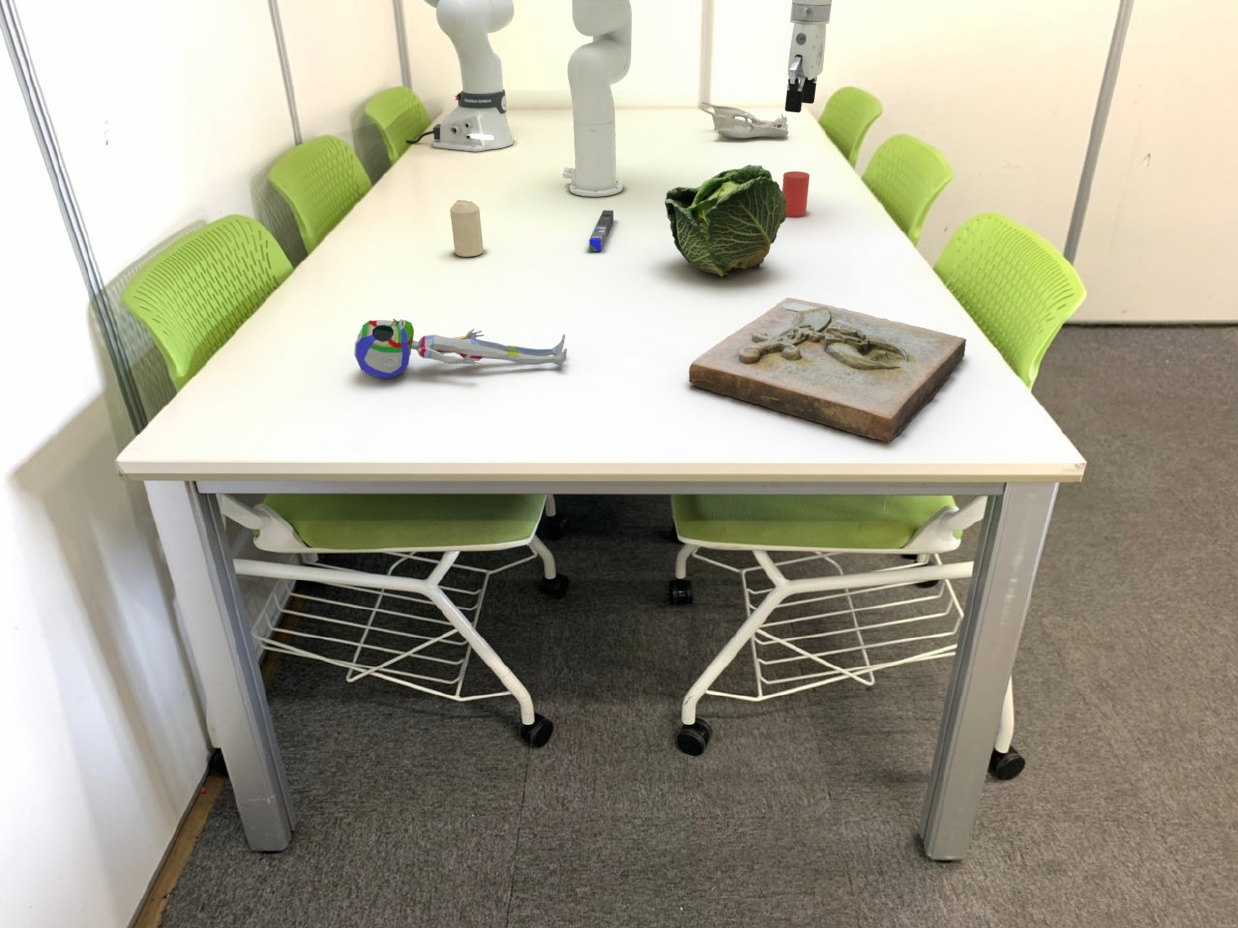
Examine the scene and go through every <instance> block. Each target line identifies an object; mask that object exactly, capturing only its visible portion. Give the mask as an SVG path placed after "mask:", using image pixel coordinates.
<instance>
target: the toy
mask: <svg viewBox="0 0 1238 928" xmlns="http://www.w3.org/2000/svg"><path fill="white" fill-rule="evenodd" d="M474 331H475V328H472V329H471V330H469V331H468V332H467V333H466V334H465V335H463V336H458V337H449V336H448V337H447V336H442V335H439V334H428V335H423V336H421V338H420V339H419V341H417V340H414V336H415V329H414V326H413V324H412V322H410V321H408V320H407V319H399V320H397V319H395V318H392V320H387V319H379V320H368V321H367V322H365V323H364V324H362V326H361V329H360V331H359V333H358V334H357V338H356V340H355V342H354V354H353V355H354V357H355V359H356V362H357V364H358V366H359V369H360V370H361V372H364V373H366V374H367V375H370V376H373V377H377V378H382V379H383V378H384V379H392V378H394V377H396V376H398V375H400V374H401V375H402V374H403V372H404V371H405V370H406V368H407V367H408V366H409V364H410V357H411V355H412V350H415V351H417V353H418V356H419V357H421V358H422V359H430V360H434V361H438V362H442V363H444V364H449V365H458V364H459V365H461V364H465V365H471V366H477V367H479V368H480V367H481V366H482V365H483V363H482V362H478V361H480V360H482V359H487V360H488V359H489V360H503V361H509V362H514V363H517V364H520V365H528V366H529V365H542V364H550V363H553V364H555V365H557V366H559V367H562V366H563V364H564V362H565V361H566V360H567V357H568V355H567V353H568V348H566V347H565V348H564V345H565V340H566V334H565V333H563V334H562V338H561V340H560V341H559V343H558V344H556V345H555V346H554V347H552V348H533V347H532V348H531V347H523V346H518V345H517V346H516V345H504V344H501V343H498V342H494V341H488V340H482V339H478V338H479V337H480V338H481V337H485V334H480V333H482V332H483V331H482V330H479V331H476V332H474ZM563 349H564V350H563ZM453 353H455V354H457V355H459V357H458V356H455V355H448V354H453ZM445 354H447V355H445Z"/></svg>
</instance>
